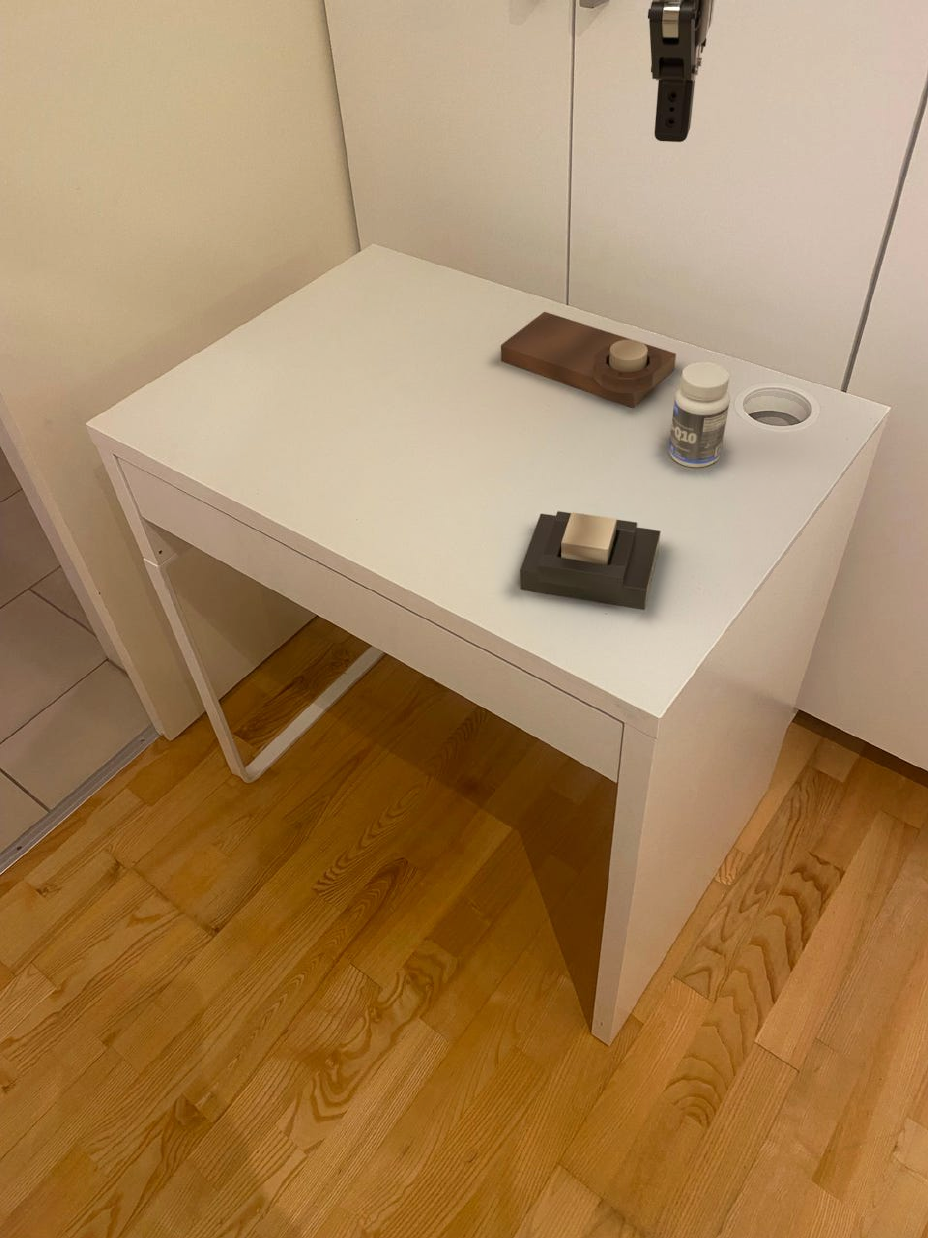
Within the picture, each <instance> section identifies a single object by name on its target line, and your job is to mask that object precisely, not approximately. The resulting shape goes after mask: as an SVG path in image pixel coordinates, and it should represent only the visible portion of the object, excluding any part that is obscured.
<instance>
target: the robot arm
mask: <svg viewBox="0 0 928 1238" xmlns="http://www.w3.org/2000/svg"><path fill="white" fill-rule="evenodd" d="M715 2H716V0H652V1H651V3H650V8H648V11H647V19H648V20H649V21H648V23H649V42H650V44H649V45H650V59H651V60H650V62H651V65H650V73H651V78H652V80H655V81H658V82H657V97H656V98H657V99H656V110H655V121H654V122H655V123H654V138H655V140H657V141H659V142H667V143H668V142H671V143H683V142H684V141H685V140H686V139H687V138H688V135H689V133H690V129H691V125H692V116H693V115H692V114H693V105H694V98H695V97H694V96H695V86H696V77H697V76H698V74H699V70H700V69H699V68H700V67H702V62H703V57H701V54H703V52H704V48H705V47H706V46H707V36H708V32H709V29H710V27H711V25H712V23H713V19H714V18H713V17H714V10H715Z"/></svg>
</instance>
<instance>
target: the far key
mask: <svg viewBox="0 0 928 1238" xmlns="http://www.w3.org/2000/svg"><path fill="white" fill-rule="evenodd" d="M643 343H644V342H642V341H639V340H635V339H632V340H622V341H618V342H616V343H614V344H613V345H612V346H611V347H610V355H609V365H610V367H611V368H612V369H615V370H618V371H621V372H636V371H639V370H642V369H644V368H645V367H646V364H647V352H648V349H647V347H646V345H645V344H646V343H644V344H643Z"/></svg>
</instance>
